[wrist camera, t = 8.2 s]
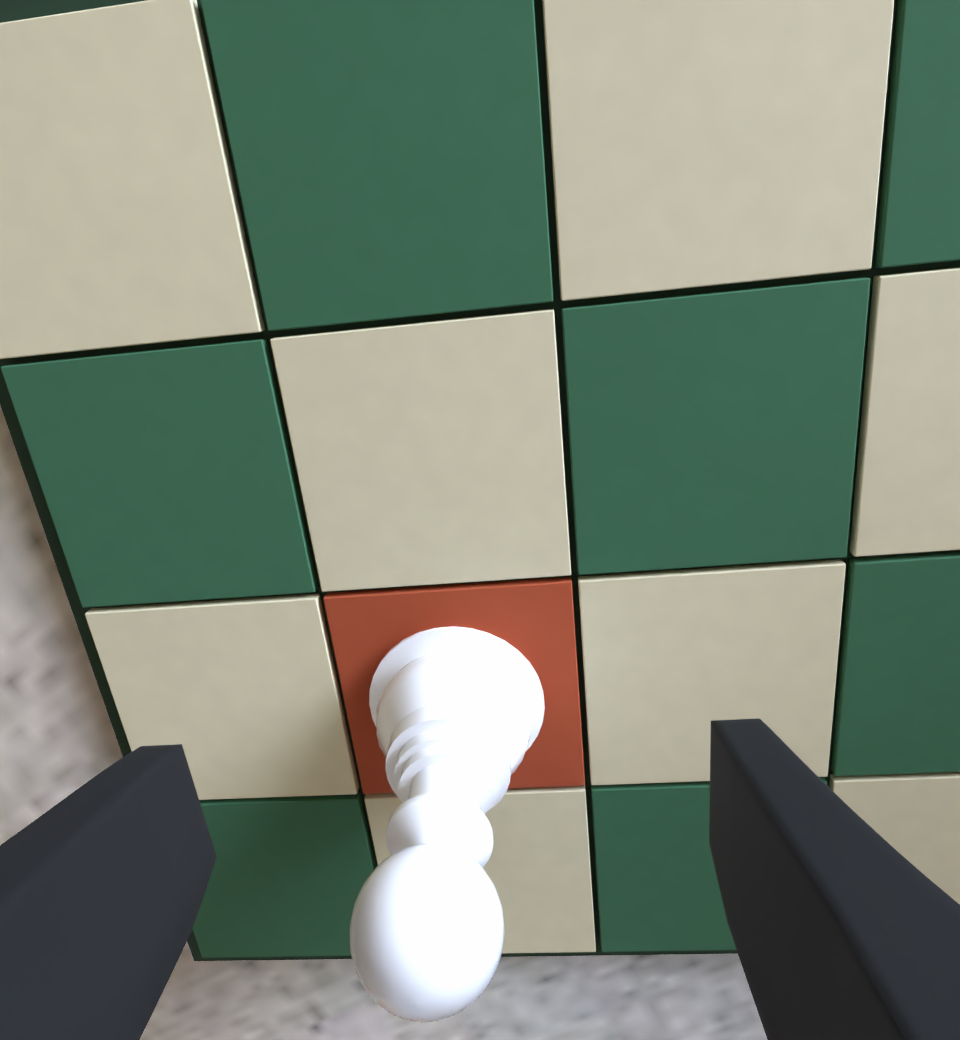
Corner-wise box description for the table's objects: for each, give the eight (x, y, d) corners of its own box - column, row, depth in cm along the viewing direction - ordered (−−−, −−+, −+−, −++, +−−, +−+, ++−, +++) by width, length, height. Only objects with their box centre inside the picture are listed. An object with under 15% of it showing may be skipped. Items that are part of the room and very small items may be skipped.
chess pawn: (525, 607, 11) (523, 872, 6) (558, 754, 12) (576, 1077, 7) (351, 636, 12) (230, 907, 7) (397, 776, 12) (319, 1096, 8)
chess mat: (1046, 939, 13) (1060, 959, 13) (198, 952, 15) (189, 971, 15) (1330, -209, 7) (1371, -231, 7) (-124, 19, 9) (-152, 9, 9)
